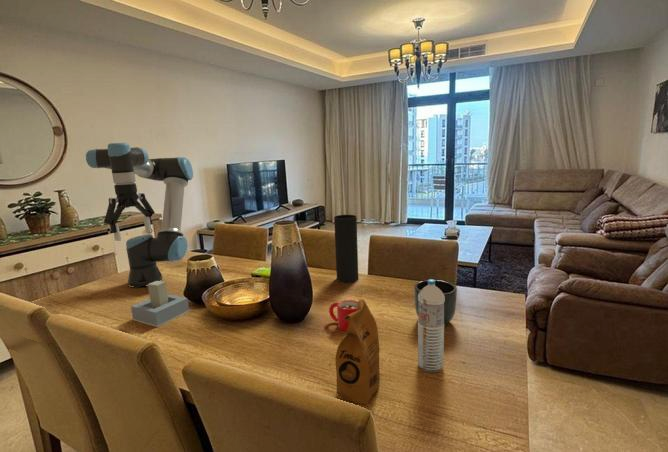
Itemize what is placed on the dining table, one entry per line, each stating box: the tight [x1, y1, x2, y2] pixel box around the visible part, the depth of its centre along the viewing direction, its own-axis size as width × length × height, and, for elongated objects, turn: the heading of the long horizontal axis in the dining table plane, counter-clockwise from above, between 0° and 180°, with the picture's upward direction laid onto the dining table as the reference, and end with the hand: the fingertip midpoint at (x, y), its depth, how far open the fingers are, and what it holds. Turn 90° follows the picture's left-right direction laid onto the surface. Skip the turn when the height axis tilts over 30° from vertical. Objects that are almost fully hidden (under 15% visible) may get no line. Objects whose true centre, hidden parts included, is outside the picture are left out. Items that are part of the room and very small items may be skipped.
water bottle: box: [417, 278, 445, 374], centre depth 99 cm, size 7×7×25 cm
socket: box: [130, 293, 190, 328], centre depth 141 cm, size 14×14×6 cm
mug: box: [328, 299, 358, 332], centre depth 127 cm, size 8×12×8 cm, turn 59°
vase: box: [333, 214, 359, 284], centre depth 170 cm, size 10×10×30 cm
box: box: [147, 280, 169, 309], centre depth 140 cm, size 5×4×13 cm
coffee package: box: [334, 298, 381, 405], centre depth 91 cm, size 10×12×22 cm
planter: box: [413, 279, 458, 327], centre depth 126 cm, size 14×14×13 cm
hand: (134, 236), depth 148 cm, fingers open, 13 cm apart
